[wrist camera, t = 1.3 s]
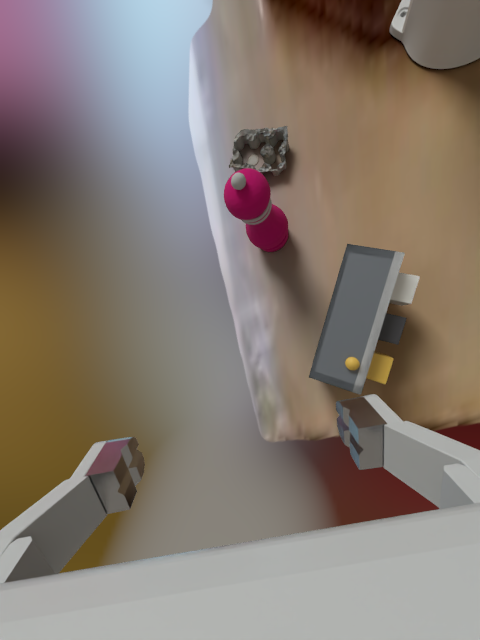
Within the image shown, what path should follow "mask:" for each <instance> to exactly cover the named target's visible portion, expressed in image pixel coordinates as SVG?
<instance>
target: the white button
mask: <svg viewBox="0 0 480 640" xmlns="http://www.w3.org/2000/svg"><path fill="white" fill-rule="evenodd" d="M419 278H420V276H415V275H409V274H404V273H398V276H397V279H396V283H395V286H394V289H393V292H392V296H391V299H390V302H389V303H392V304H396V305H401V306H403V305H408V304H411V303H412V300H413V296H414V293H415V290H416V287H417V284H418V281H419Z"/></svg>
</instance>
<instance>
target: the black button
mask: <svg viewBox="0 0 480 640" xmlns="http://www.w3.org/2000/svg"><path fill="white" fill-rule="evenodd" d="M406 319H407V318H404V317H400V316H396V315H391V314H387V313H386V315H385V318H384V321H383V325H382V328H381V331H380V334H379V338H378V339H379V340H382V341H386V342H390V343H394V344H397V345H398V344H399V341H400V337H401V334H402V331H403V328H404V325H405V322H406Z"/></svg>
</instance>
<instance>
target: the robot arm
mask: <svg viewBox="0 0 480 640" xmlns="http://www.w3.org/2000/svg"><path fill="white" fill-rule="evenodd" d="M390 33H391V34H392V35H393V36H394V37H395V38H397V39H398V40H400V41H402V43H403V44H404V46H405V49H406V51H407V53H408V54H409V56H410V57H411V58H412V59H413V60H414V61H415V62H417V63H418V64H420V65H422V66H425V67H428V68H433V69H449V68H455V67H459V66H462V65H465V64H468V63H471V62H473V61H475V60H477V59H479V58H480V0H402V1H401V3H400V6H399V8H398V10H397V12H396V14H395V16H394V18H393V20H392V23H391V26H390ZM336 410H337V412H338V414H339V417H338V418H337V427H338V430H339V434H340V436H341V439H342V440H343V442H344V444H345V445H346V446H348V447H350V454H351V456H352V458H353V459H354V461H355V463H356V464H357V466H358V468H359V470H362V469H370V468H377V467H384V468H385V469H386V470H388V471H389V472H390V473H392V474H393V475H394V476H396V477H397V478H399V479H400V480H401V481H403V482H404V483H406V484H407V485H409V486H410V487H411V488H413V489H414V490H416V491H417V492H418V493H420V494H421V495H422V496H424V497H425V498H427V499H428V500H429V501H431V502H432V503H434V504H435V505H437V506H438V507H439V510H432V511H426V512H421V513H415V514H409V515H403V516H397V517H391V518H385V519H379V520H373V521H367V522H362V523H356V524H349V525H343V526H338V527H332V528H326V529H320V530H314V531H308V532H302V533H296V534H290V535H285V536H279V537H273V538H267V539H261V540H255V541H249V542H243V543H237V544H231V545H225V546H220V547H214V548H208V549H201V550H196V551H190V552H184V553H178V554H172V555H166V556H160V557H154V558H149V559H142V560H136V561H131V562H124V563H119V564H113V565H107V566H101V567H95V568H90V569H83V570H78V571H72V572H65V573H60V574H58V573H59V572H60V571H61V570H62V568H63V567H64V566H65V565H66V564H67V562H68V561H69V560H70V558H72V556H73V555H74V554H75V553H76V552H77V550H78V549H79V548H80V547H81V546H82V544H83V543H84V542H85V541H86V540H87V538H88V537H89V536H90V535H91V534H92V532H93V531H94V530H95V529H96V528H97V526H98V525H99V524H100V523H101V522H102V520H103V519H104V518H105V517H106V516H107V514H109V513H114V512H119V511H124V510H129V509H130V508H131V505H132V503H133V500H134V498H135V495H136V492H137V490H136V487H135V486H136V485H137V484H138V482H139V481H140V480H141V479H142V476H143V473H144V466H145V464H144V457H143V455H142V453H141V452H140V451H138V450H137V447H138V445H139V444H138V441H137V439H136V438H135V437H128V438H121V439H115V440H109V441H102V442H97V443H95V444H94V445H93V446H92V447H91V449H90V450H89V452H88V453H87V455H86V456H85V457H84V459H83V460H82V462H81V463H80V465H79V466H78V468H77V469H76V471H75V472H74V474H73V475H72V477H71V478H70V479H69V480H65V481H64V482H62V483H61V484H60V485H58V486H57V487H56V488H54V489H53V490H52V491H51V492H49V493H48V494H47V495H45V496H44V497H43V498H42V499H40V500H39V501H38V502H36V503H35V504H34V505H33V506H31V507H30V508H29V509H27V510H26V511H25V512H23V513H22V514H21V515H20V516H18V517H17V518H16V519H14V520H13V521H12V522H10V523H9V524H8V525H7V526H5V527H4V528H3V529H1V530H0V640H480V451H479V450H477V449H475V448H472V447H470V446H467V445H465V444H463V443H460V442H458V441H455V440H453V439H450V438H448V437H446V436H443V435H441V434H438V433H436V432H433V431H431V430H428V429H426V428H424V427H421V426H419V425H416V424H414V423H411V422H409V421H404V422H403V421H402V420H401V419H400V418H399V417H398V416H397V415H396V414H395V413H394V412H393V411H392V410H391V409H390V408H389V407H388V406H387V405H386V404H385V403H384V402H383V401H382V400H381V399H380V398H379V397H378V396H377V395H376V394H371V395H366V396H362V397H357V398H352V399H346V400H341V401H337V402H336Z"/></svg>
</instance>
